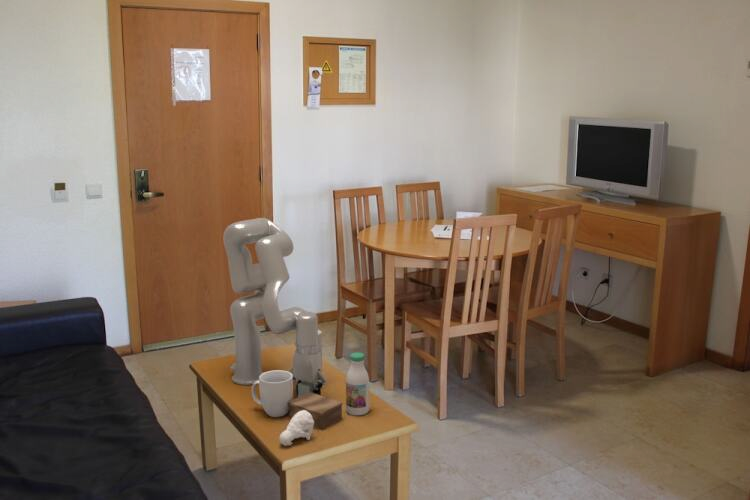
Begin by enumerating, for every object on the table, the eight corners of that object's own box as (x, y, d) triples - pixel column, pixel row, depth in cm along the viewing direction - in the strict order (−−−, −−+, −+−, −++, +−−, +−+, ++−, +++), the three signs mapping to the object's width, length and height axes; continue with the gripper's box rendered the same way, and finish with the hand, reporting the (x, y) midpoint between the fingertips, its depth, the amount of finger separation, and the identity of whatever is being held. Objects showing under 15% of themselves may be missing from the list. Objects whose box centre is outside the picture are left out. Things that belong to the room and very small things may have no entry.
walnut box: (288, 419, 237) (288, 402, 236) (310, 408, 245) (309, 391, 244) (321, 431, 229) (321, 413, 227) (342, 419, 237) (342, 402, 235)
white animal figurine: (315, 411, 222) (286, 428, 214) (317, 435, 225) (289, 453, 216) (300, 405, 226) (272, 421, 218) (303, 429, 229) (275, 446, 220)
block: (298, 399, 252) (297, 383, 251) (307, 395, 256) (307, 379, 254) (309, 403, 249) (308, 386, 248) (318, 398, 253) (318, 382, 252)
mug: (244, 415, 240) (242, 378, 237) (261, 402, 250) (259, 366, 247) (284, 422, 234) (282, 384, 232) (299, 409, 244) (298, 372, 241)
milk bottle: (353, 404, 247) (352, 349, 243) (373, 408, 244) (372, 352, 240) (342, 413, 241) (341, 356, 236) (362, 417, 237) (362, 360, 233)
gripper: (281, 346, 250) (282, 394, 254) (319, 356, 240) (320, 406, 244) (295, 340, 256) (297, 387, 260) (333, 350, 246) (334, 398, 250)
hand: (308, 396), depth 252 cm, fingers open, 7 cm apart
